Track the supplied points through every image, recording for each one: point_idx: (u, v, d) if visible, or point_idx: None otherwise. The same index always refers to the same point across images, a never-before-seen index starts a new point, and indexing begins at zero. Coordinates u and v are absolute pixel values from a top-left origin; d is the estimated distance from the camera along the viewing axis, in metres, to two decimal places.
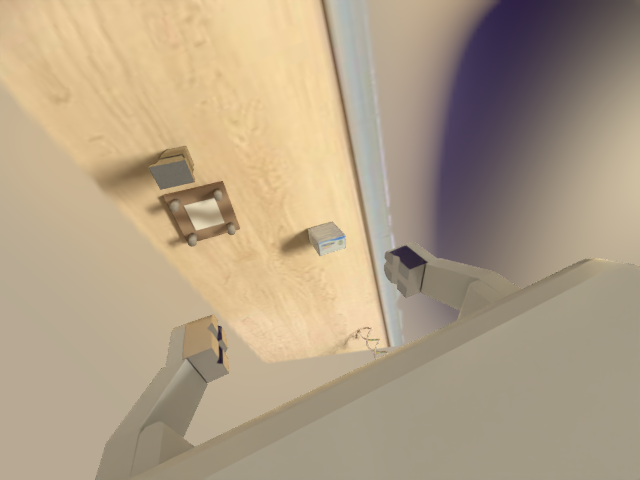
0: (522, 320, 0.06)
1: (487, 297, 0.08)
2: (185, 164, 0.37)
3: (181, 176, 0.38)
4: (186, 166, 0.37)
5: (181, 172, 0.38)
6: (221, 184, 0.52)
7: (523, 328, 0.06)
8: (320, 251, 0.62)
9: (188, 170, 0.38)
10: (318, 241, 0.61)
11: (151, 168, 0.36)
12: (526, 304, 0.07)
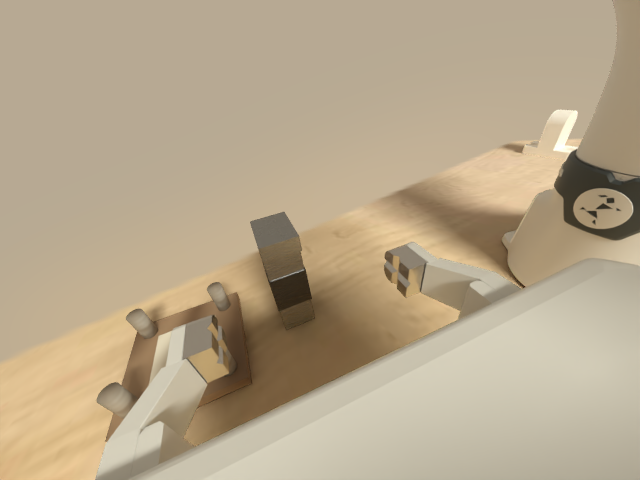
0: (522, 320, 0.06)
1: (487, 297, 0.08)
2: (291, 237, 0.21)
3: (269, 235, 0.21)
4: (287, 238, 0.21)
5: (276, 234, 0.21)
6: (244, 374, 0.23)
7: (523, 328, 0.06)
8: None
9: (280, 241, 0.20)
10: None
11: (282, 213, 0.24)
12: (526, 304, 0.07)
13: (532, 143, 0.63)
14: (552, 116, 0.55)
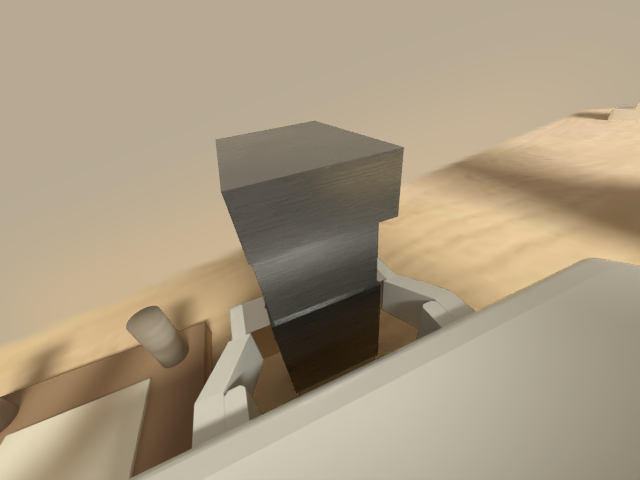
0: (522, 320, 0.06)
1: (438, 320, 0.08)
2: (369, 151, 0.05)
3: (276, 155, 0.05)
4: (355, 155, 0.05)
5: (303, 151, 0.05)
6: None
7: (523, 328, 0.06)
8: None
9: (325, 164, 0.05)
10: None
11: (311, 122, 0.09)
12: (526, 304, 0.07)
13: (621, 107, 0.47)
14: None
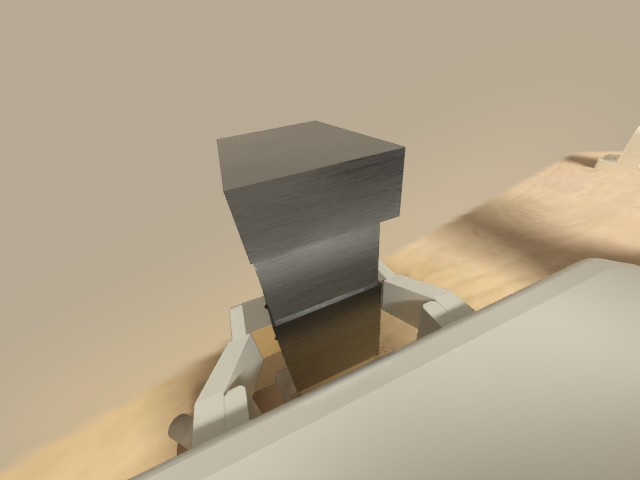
0: (522, 320, 0.06)
1: (438, 320, 0.08)
2: (371, 151, 0.05)
3: (278, 154, 0.05)
4: (357, 155, 0.05)
5: (305, 151, 0.05)
6: None
7: (523, 328, 0.06)
8: None
9: (327, 163, 0.05)
10: None
11: (312, 122, 0.09)
12: (526, 304, 0.07)
13: (606, 156, 0.55)
14: None
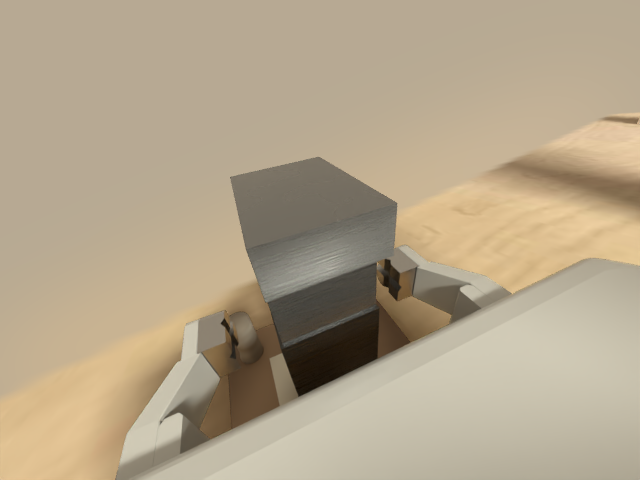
0: (522, 320, 0.06)
1: (477, 302, 0.08)
2: (368, 206, 0.06)
3: (288, 204, 0.06)
4: (356, 210, 0.06)
5: (311, 201, 0.06)
6: None
7: (523, 328, 0.06)
8: None
9: (331, 219, 0.05)
10: None
11: (316, 159, 0.09)
12: (526, 304, 0.07)
13: None
14: None
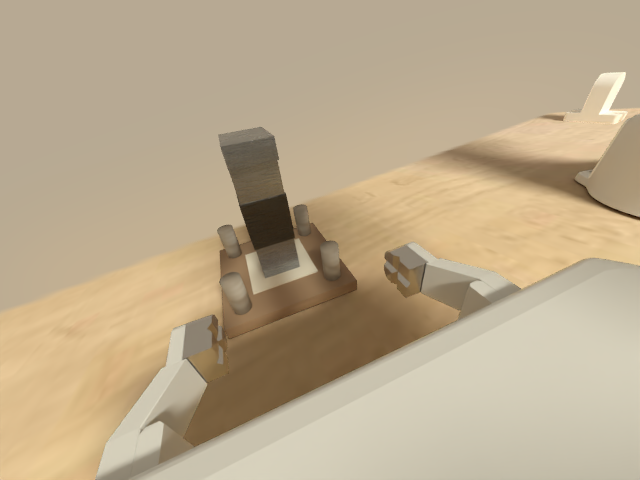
0: (522, 320, 0.06)
1: (487, 297, 0.08)
2: (264, 137, 0.16)
3: (238, 138, 0.17)
4: (259, 138, 0.16)
5: (247, 138, 0.17)
6: (351, 278, 0.22)
7: (523, 328, 0.06)
8: None
9: (250, 140, 0.16)
10: None
11: (259, 127, 0.20)
12: (526, 304, 0.07)
13: (573, 111, 0.63)
14: (599, 79, 0.55)
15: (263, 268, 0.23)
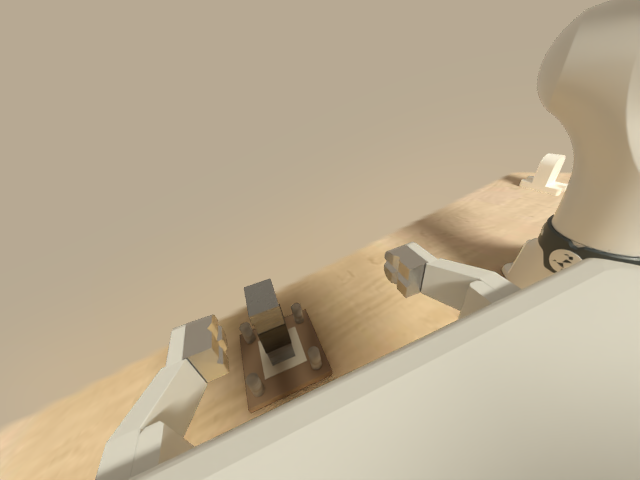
0: (522, 320, 0.06)
1: (487, 297, 0.08)
2: (273, 306, 0.28)
3: (257, 303, 0.29)
4: (270, 307, 0.28)
5: (262, 303, 0.29)
6: (328, 368, 0.34)
7: (523, 328, 0.06)
8: None
9: (265, 309, 0.28)
10: None
11: (269, 280, 0.32)
12: (526, 304, 0.07)
13: (528, 177, 0.74)
14: (544, 159, 0.67)
15: (271, 361, 0.35)
